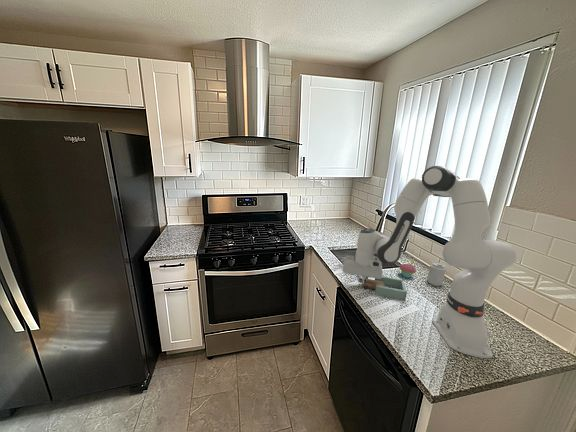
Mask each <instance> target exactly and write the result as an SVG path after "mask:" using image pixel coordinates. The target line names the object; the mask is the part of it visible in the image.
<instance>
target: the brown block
mask: <svg viewBox="0 0 576 432" xmlns="http://www.w3.org/2000/svg"><path fill="white" fill-rule="evenodd" d="M376 285H378V286H383V287H385V285H384V282H382V281H377V280H375V279H373V278H369V277H366V279H365V280H364V281H363V288H364V290H368V289H370V290H375V289H376Z"/></svg>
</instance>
